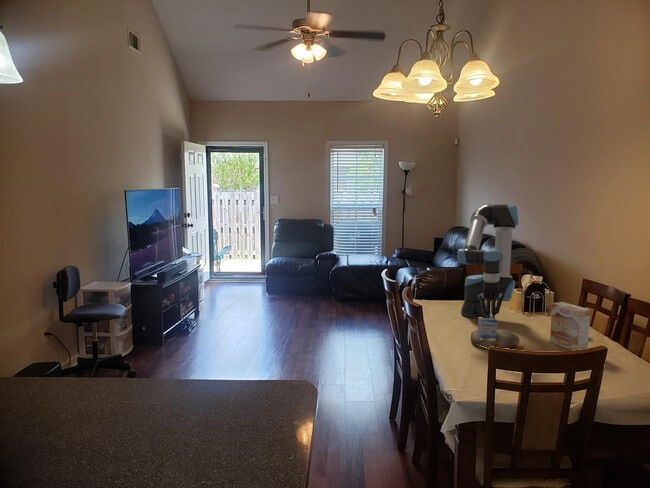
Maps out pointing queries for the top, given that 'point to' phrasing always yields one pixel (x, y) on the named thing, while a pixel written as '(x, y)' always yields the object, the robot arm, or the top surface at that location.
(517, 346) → the dial base
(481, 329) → the medicine box
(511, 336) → the index dial
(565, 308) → the coffeecake box
